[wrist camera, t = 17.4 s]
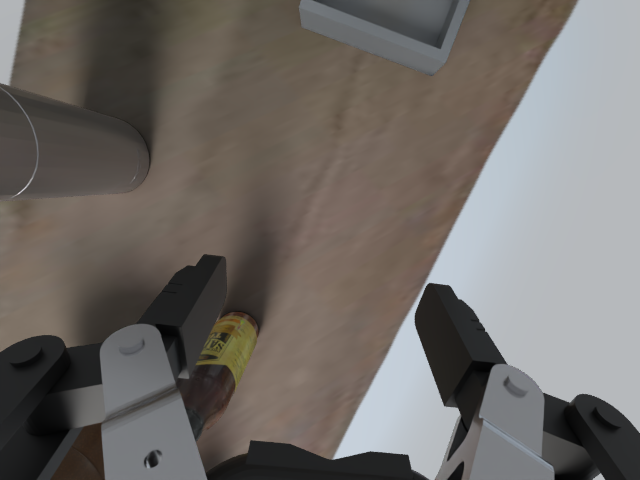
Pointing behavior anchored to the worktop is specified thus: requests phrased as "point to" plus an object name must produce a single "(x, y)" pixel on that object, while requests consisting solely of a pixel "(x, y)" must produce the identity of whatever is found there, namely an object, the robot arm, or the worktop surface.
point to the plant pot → (83, 457)
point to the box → (390, 27)
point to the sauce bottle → (218, 370)
